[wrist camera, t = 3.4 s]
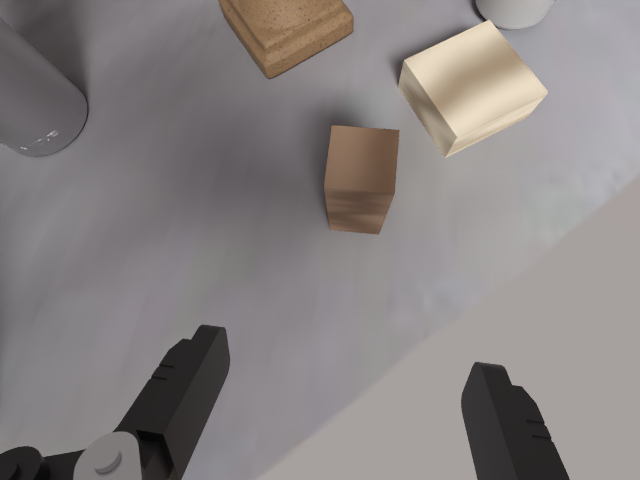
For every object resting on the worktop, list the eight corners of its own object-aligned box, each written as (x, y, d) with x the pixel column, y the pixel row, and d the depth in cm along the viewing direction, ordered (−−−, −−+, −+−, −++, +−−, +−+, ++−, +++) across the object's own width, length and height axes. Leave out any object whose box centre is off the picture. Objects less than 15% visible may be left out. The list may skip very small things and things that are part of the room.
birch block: (397, 89, 35) (403, 60, 31) (473, 52, 35) (489, 19, 32) (443, 159, 33) (457, 137, 29) (524, 119, 33) (548, 92, 29)
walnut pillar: (330, 229, 32) (323, 187, 22) (335, 184, 33) (331, 125, 23) (378, 234, 31) (394, 193, 21) (382, 188, 32) (399, 130, 22)
